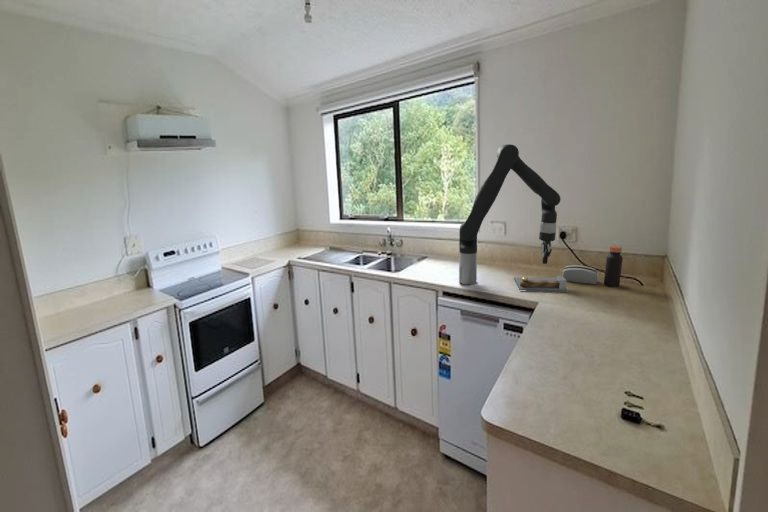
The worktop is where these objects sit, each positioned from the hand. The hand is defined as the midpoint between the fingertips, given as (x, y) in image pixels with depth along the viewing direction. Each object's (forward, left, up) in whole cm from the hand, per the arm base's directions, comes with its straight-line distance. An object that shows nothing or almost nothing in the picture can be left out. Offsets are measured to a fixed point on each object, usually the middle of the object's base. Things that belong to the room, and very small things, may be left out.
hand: (544, 263), depth 192 cm
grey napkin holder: (+18, +2, -11) cm, 21 cm away
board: (-3, -5, -11) cm, 12 cm away
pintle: (-11, -10, -6) cm, 16 cm away
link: (-3, -10, -9) cm, 14 cm away
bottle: (+32, -3, -11) cm, 34 cm away
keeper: (+6, -10, -9) cm, 15 cm away
